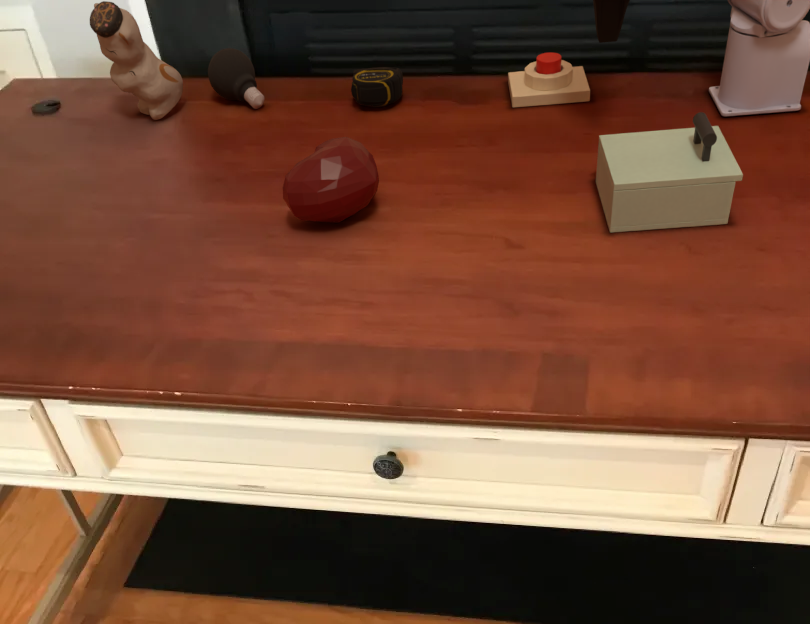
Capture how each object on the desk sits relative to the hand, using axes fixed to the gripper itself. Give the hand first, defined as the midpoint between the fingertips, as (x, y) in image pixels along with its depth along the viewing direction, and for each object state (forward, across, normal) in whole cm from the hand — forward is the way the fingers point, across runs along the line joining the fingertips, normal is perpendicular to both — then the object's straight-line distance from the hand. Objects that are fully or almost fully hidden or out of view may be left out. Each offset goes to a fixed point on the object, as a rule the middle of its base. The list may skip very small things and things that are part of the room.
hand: (607, 40), depth 103 cm
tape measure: (+10, -14, -28) cm, 33 cm away
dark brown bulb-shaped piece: (+10, -18, -47) cm, 52 cm away
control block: (+10, -12, -5) cm, 17 cm away
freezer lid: (+6, +18, +4) cm, 20 cm away
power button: (+8, -13, -5) cm, 16 cm away
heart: (+10, +16, -31) cm, 36 cm away
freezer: (+10, +18, +4) cm, 22 cm away
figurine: (+10, -15, -59) cm, 62 cm away
